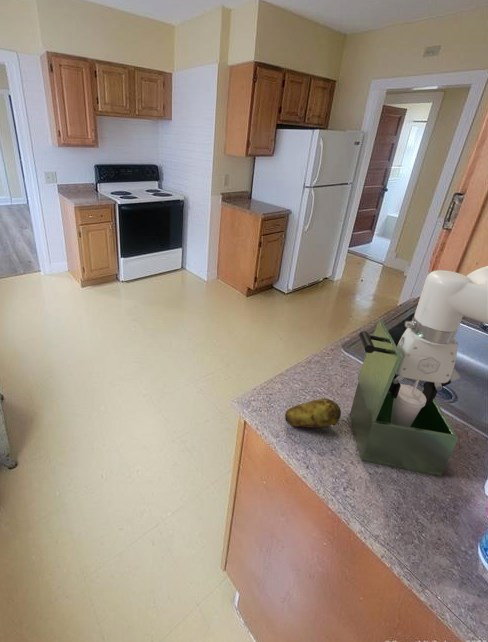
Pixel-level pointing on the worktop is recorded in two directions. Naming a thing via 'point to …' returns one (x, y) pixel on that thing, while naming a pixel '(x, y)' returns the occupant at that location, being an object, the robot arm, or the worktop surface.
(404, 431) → the caddy
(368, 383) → the lid
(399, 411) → the smoothie
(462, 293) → the robot arm
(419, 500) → the worktop surface
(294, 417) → the potato
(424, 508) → the worktop surface
